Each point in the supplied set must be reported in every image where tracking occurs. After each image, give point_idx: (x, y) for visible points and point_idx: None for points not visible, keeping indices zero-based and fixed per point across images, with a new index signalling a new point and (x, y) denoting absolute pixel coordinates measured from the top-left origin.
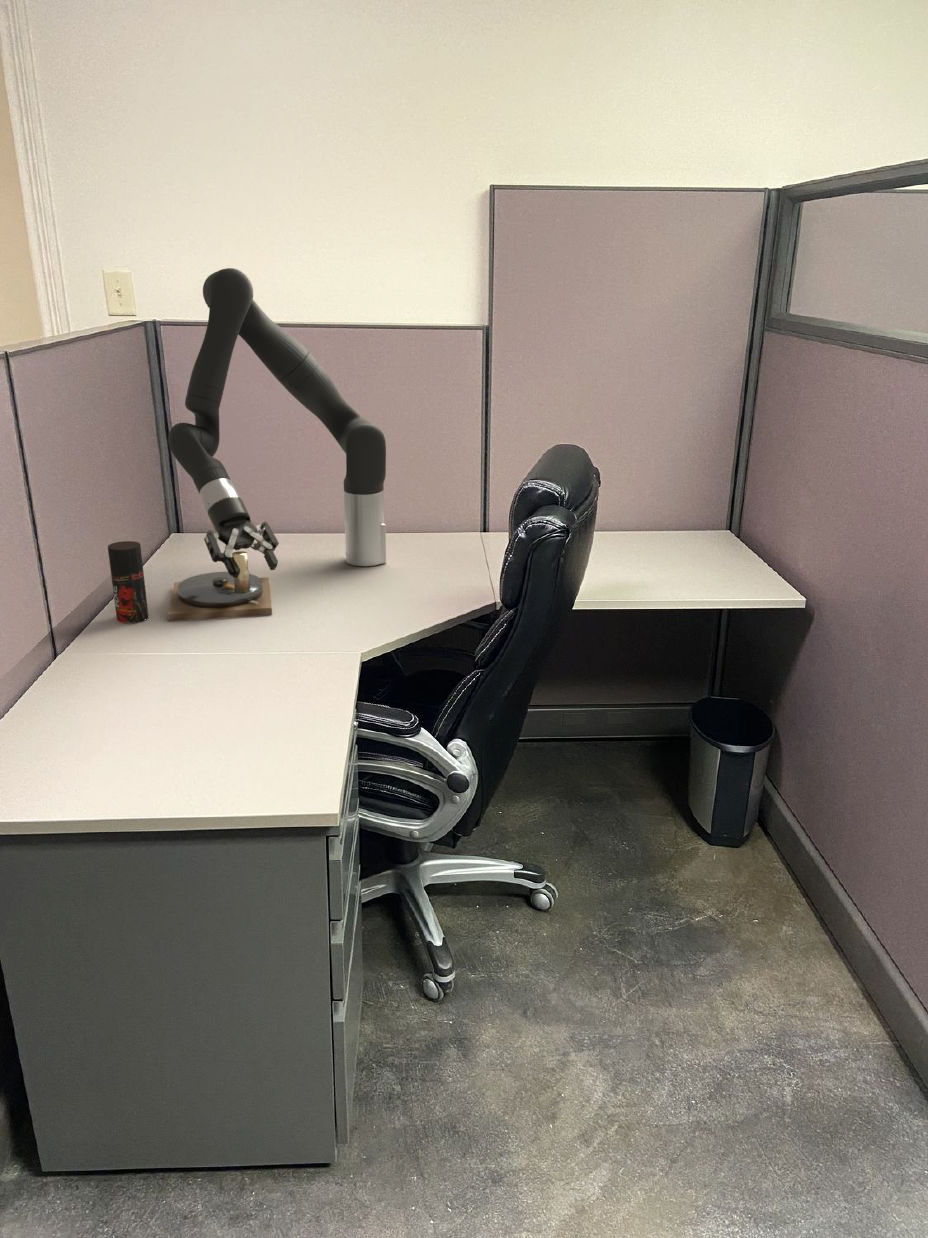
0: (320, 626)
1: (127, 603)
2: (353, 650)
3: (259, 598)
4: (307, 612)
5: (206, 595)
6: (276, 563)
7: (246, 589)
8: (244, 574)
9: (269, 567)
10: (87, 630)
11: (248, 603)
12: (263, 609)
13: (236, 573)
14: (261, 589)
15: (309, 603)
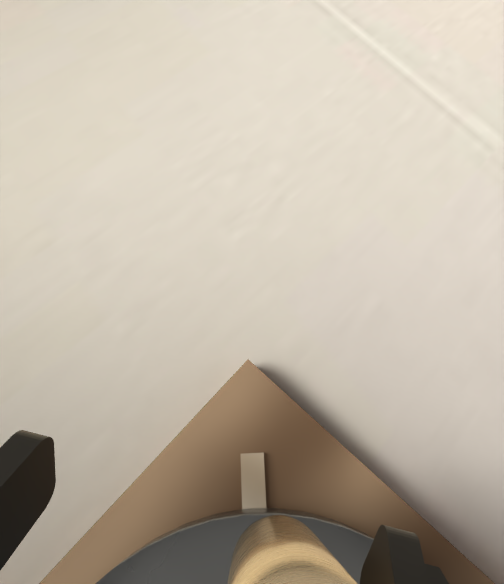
0: (229, 156)
1: None
2: (309, 4)
3: (181, 519)
4: (143, 274)
5: None
6: (18, 434)
7: (286, 518)
8: (307, 538)
9: (34, 522)
10: None
11: (274, 505)
12: (275, 386)
13: (412, 534)
14: (123, 560)
15: (47, 340)
